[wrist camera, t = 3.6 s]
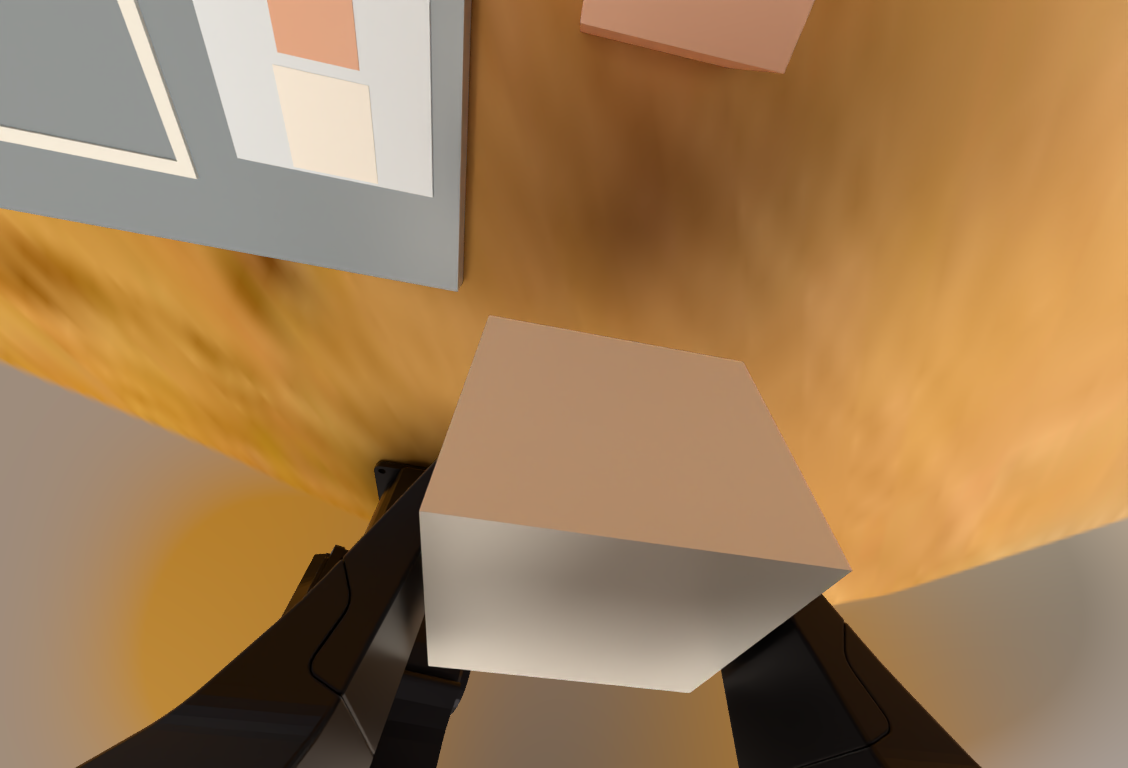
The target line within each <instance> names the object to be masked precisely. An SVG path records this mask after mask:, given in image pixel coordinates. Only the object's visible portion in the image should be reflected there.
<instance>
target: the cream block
mask: <svg viewBox="0 0 1128 768" xmlns="http://www.w3.org/2000/svg"><path fill="white" fill-rule="evenodd" d="M419 518H420V535H421V552H422V568H423V585H424V602H425V619H426V636H427V653H428V666H434V667H444V668H453V669H463V670H473V671H483V672H492V673H503V674H512V675H521V676H531V677H541V678H550V679H561V680H570V681H579V682H589V683H600V684H608V685H618V686H629V687H638V688H647V689H657V690H667V691H677V692H686V693H690V692H691V691H693V690H694V689H696V688H697V687H698V686H700V685H701V684H702V683H703V682H705V681H706V680H707V679H709V678H710V677H711V676H713V675H714V674H715V673H716V672H718V671H720V670H721V669H722V668H723V667H725V666H726V665H727V664H729V663H730V662H731V661H733V660H734V659H735V658H737V657H738V656H739V655H741V654H742V653H743V652H745V651H746V650H747V649H749V648H750V647H751V646H753V645H754V644H755V643H757V642H758V641H759V640H761V639H762V638H763V637H765V636H766V635H767V634H769V633H770V632H771V631H773V630H774V629H775V628H777V627H778V626H779V625H781V624H782V623H783V622H785V621H786V620H787V619H789V618H790V617H791V616H793V615H794V614H795V613H797V612H798V611H799V610H801V609H802V608H803V607H805V606H806V605H807V604H809V603H810V602H811V601H813V600H814V599H815V598H817V597H818V596H819V595H821V594H822V593H823V592H825V591H826V590H827V589H829V588H830V587H831V586H833V585H834V584H835V583H836V582H838V581H839V580H840V579H842V578H843V577H844V576H846V575H847V574H848V573H850V572H851V571H852V569H851V567H850V565H849V563H848V561H847V559H846V558H845V556H844V554H843V552H842V550H841V548H840V546H839V544H838V542H837V540H836V538H835V536H834V535H833V533H832V531H831V529H830V527H829V525H828V523H827V521H826V519H825V517H824V515H823V513H822V512H821V510H820V508H819V506H818V504H817V502H816V500H815V498H814V496H813V494H812V492H811V491H810V489H809V487H808V485H807V483H806V481H805V479H804V477H803V475H802V473H801V471H800V469H799V468H798V466H797V464H796V462H795V460H794V458H793V456H792V454H791V452H790V450H789V448H788V447H787V445H786V443H785V441H784V439H783V437H782V435H781V433H780V431H779V429H778V427H777V425H776V424H775V422H774V420H773V418H772V416H771V414H770V412H769V410H768V408H767V406H766V404H765V402H764V401H763V399H762V397H761V395H760V393H759V391H758V389H757V387H756V385H755V383H754V381H753V380H752V378H751V376H750V374H749V372H748V370H747V368H746V366H745V364H744V362H742V361H736V360H731V359H726V358H720V357H715V356H709V355H704V354H698V353H693V352H688V351H682V350H677V349H671V348H666V347H660V346H655V345H649V344H644V343H639V342H633V341H628V340H622V339H617V338H611V337H606V336H600V335H595V334H590V333H584V332H579V331H573V330H568V329H562V328H557V327H552V326H546V325H541V324H535V323H530V322H524V321H519V320H513V319H508V318H503V317H497V316H492V315H489V317H488V320H487V322H486V325H485V328H484V331H483V334H482V336H481V339H480V342H479V345H478V348H477V350H476V353H475V356H474V359H473V362H472V364H471V367H470V370H469V373H468V376H467V378H466V381H465V384H464V387H463V390H462V392H461V395H460V398H459V401H458V404H457V406H456V409H455V412H454V415H453V418H452V420H451V423H450V426H449V429H448V432H447V434H446V437H445V440H444V443H443V446H442V448H441V451H440V454H439V457H438V460H437V462H436V465H435V468H434V471H433V474H432V476H431V479H430V482H429V485H428V487H427V490H426V493H425V496H424V499H423V501H422V504H421V507H420V510H419Z"/></svg>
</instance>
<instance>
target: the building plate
mask: <svg viewBox="0 0 1128 768" xmlns="http://www.w3.org/2000/svg"><path fill="white" fill-rule="evenodd" d="M471 4H472V0H0V208H4V209H9V210H15V211H20V212H26V213H31V214H36V215H42V216H47V217H53V218H58V219H64V220H69V221H75V222H80V223H86V224H91V225H96V226H102V227H107V228H113V229H118V230H124V231H129V232H135V233H140V234H145V235H151V236H156V237H162V238H167V239H173V240H178V241H184V242H189V243H195V244H200V245H205V246H211V247H216V248H222V249H227V250H233V251H238V252H244V253H249V254H255V255H260V256H265V257H271V258H276V259H282V260H287V261H293V262H298V263H304V264H309V265H315V266H320V267H325V268H331V269H336V270H342V271H347V272H353V273H358V274H364V275H369V276H375V277H380V278H385V279H391V280H396V281H402V282H407V283H413V284H418V285H424V286H429V287H435V288H440V289H445V290H451V291H456V292H458V290H459V288H460V286H461V285H462V283H463V262H464V230H465V197H466V165H467V133H468V101H469V68H470V36H471Z"/></svg>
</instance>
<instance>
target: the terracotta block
mask: <svg viewBox="0 0 1128 768" xmlns="http://www.w3.org/2000/svg"><path fill="white" fill-rule="evenodd" d="M814 1H815V0H583V7H582V13H581V19H580V31H581V32H584V33H588V34H592V35H596V36H600V37H604V38H608V39H612V40H616V41H620V42H624V43H628V44H633V45H637V46H641V47H645V48H649V49H653V50H657V51H661V52H665V53H669V54H673V55H677V56H681V57H685V58H689V59H693V60H697V61H702V62H706V63H710V64H714V65H718V66H722V67H726V68H734V69H743V70H753V71H763V72H773V73H783V74H784V72H785V70H786V68H787V65H788V63H789V61H790V58H791V56H792V54H793V51H794V49H795V46H796V44H797V42H798V39H799V37H800V35H801V32H802V30H803V27H804V25H805V23H806V20H807V18H808V16H809V13H810V11H811V8H812V6H813V4H814Z"/></svg>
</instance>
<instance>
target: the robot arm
mask: <svg viewBox="0 0 1128 768" xmlns="http://www.w3.org/2000/svg"><path fill="white" fill-rule="evenodd" d="M437 460H438V458H437V459H436V460H435V461H434V462H433V463H432V464H431V465H430V466H429V467H428V468H425V467H418V466H411V465H404V464H397V463H390V462H378V463H377V464H376V466H375V468H374V472H375V478H376V484H377V490H378V495H379V503H378V505H377V507H376V510H375V512H374V514H373V516H372V518H371V521H370V523H369V525H368V527H367V530H366V532H365V534H364V536H363V537H362V538H361V539H360V540H359V541H358V542H357V543H356V544H355V545H354V546H353V547H352V548H351V549H350V550H346V549H345V548H344V547H342V546H339V545H335V547H334V549H333V550H332V552H331V554H329V553H326V554H316V555H314V557H313V559H312V561H311V563H310V565H309V567H308V569H307V570H306V572H305V574H304V576H303V578H302V580H301V582H300V583H299V585H298V587H297V589H296V591H295V593H294V595H293V596H292V599H291V601H290V602H289V604H288V606H287V608H286V610H285V612H284V614H283V615H282V617H281V618H280V619H279V620H278V621H277V622H276V623H275V624H274V625H273V626H271V627H270V628H269V629H268V630H267V631H266V632H265V633H263V634H262V635H261V636H260V637H259V638H258V639H257V640H255V641H254V642H253V643H252V644H251V645H250V646H248V647H247V648H246V649H245V650H244V651H243V652H242V653H240V655H238V656H237V657H236V658H235V659H234V660H233V661H231V662H230V663H229V664H228V665H227V666H226V667H224V668H223V669H222V670H221V671H220V672H219V673H218V674H216V675H215V676H214V677H213V678H212V679H211V680H210V681H208V682H207V683H206V684H205V685H204V686H203V687H201V688H200V689H199V690H198V691H197V692H196V693H194V694H193V695H192V696H190V697H189V698H188V699H187V700H185V701H184V702H183V703H182V704H180V705H179V706H177V707H176V708H175V709H173V710H172V711H170V712H169V713H168V714H166V715H165V716H163V717H161V718H160V719H158V720H157V721H155V722H154V723H152V724H151V725H149V726H147V727H146V728H144V729H142V730H141V731H139V732H137V733H135V734H133V735H132V736H130V737H128V738H127V739H125V740H123V741H121V742H119V743H118V744H116V745H114V746H112V747H111V748H109V749H107V750H106V751H104V752H102V753H100V754H99V755H97V756H95V757H93V758H92V759H90V760H88V761H86V762H85V763H83V764H81V765H79V766H78V767H76V768H436V766H437V763H438V758H439V754H440V750H441V745H442V741H443V738H444V734H445V730H446V726H447V724H448V721H449V717H450V715H451V714H452V713H453V712H454V710H455V709H456V707H457V706H458V704H459V702H460V700H461V698H462V696H463V693H464V691H465V688H466V685H467V682H468V678H469V674H470V671H471V670H463V669H453V668H444V667H434V666H428V653H427V636H426V619H425V602H424V585H423V568H422V552H421V535H420V518H419V510H420V507H421V504H422V501H423V499H424V496H425V493H426V490H427V487H428V485H429V482H430V479H431V476H432V474H433V471H434V468H435V465H436V462H437ZM721 672H722V678H723V683H724V688H725V694H726V700H727V705H728V710H729V716H730V722H731V727H732V733H733V738H734V744H735V749H736V755H737V759H738V765H739V768H981V767H980V766H979V765H978V764H977V763H976V762H975V761H974V760H973V759H972V758H971V757H970V756H969V755H968V754H967V753H966V752H965V751H964V749H962V748H961V746H960V745H959V744H958V743H957V742H956V741H955V740H954V739H953V738H952V737H951V736H950V735H949V734H948V733H947V732H946V731H945V730H944V729H943V728H942V727H941V726H940V724H938V722H937V721H936V720H935V719H934V718H933V717H932V716H931V715H930V714H929V713H928V712H927V711H926V710H925V709H924V708H923V707H922V706H921V705H920V704H919V702H917V701H916V699H915V698H914V697H913V696H912V695H911V694H910V693H909V692H908V691H907V690H906V689H905V688H904V687H903V686H902V685H901V683H900V682H899V681H898V680H897V679H896V678H895V677H894V676H893V675H892V674H891V673H890V672H889V671H888V670H887V668H886V667H885V666H884V665H883V664H882V663H881V662H880V661H879V660H878V659H877V657H876V656H875V655H874V654H873V653H872V652H871V651H870V649H869V648H868V647H867V646H866V645H865V644H864V643H863V642H862V640H861V639H860V638H859V637H858V636H857V634H856V633H855V632H854V631H853V630H852V629H851V627H850V626H849V625H848V624H847V623H845V622H844V620H843V618H842V617H841V616H840V615H839V613H838V612H837V611H836V610H835V609H834V608H833V606H832V605H831V604H830V603H829V602H828V601H827V599H826V598H825V597H824V596H823V595H822V594H821V595H819V596H818V597H817V598H815V599H814V600H813V601H811V602H810V603H809V604H807V605H806V606H805V607H803V608H802V609H801V610H799V611H798V612H797V613H795V614H794V615H793V616H791V617H790V618H789V619H787V620H786V621H785V622H783V623H782V624H781V625H779V626H778V627H777V628H775V629H774V630H773V631H771V632H770V633H769V634H767V635H766V636H765V637H763V638H762V639H761V640H759V641H758V642H757V643H755V644H754V645H753V646H751V647H750V648H749V649H747V650H746V651H745V652H743V653H742V654H741V655H739V656H738V657H737V658H735V659H734V660H733V661H731V662H730V663H729V664H727V665H726V666H725V667H723V668H722V669H721Z"/></svg>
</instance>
